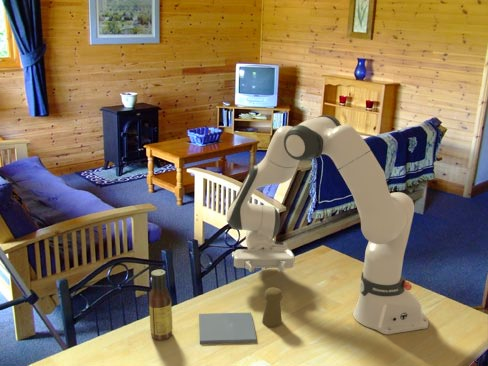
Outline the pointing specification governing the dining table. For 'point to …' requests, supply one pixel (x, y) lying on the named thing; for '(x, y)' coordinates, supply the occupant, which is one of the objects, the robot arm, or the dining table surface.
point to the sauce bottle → (160, 307)
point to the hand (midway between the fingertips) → (266, 270)
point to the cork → (272, 308)
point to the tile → (226, 328)
